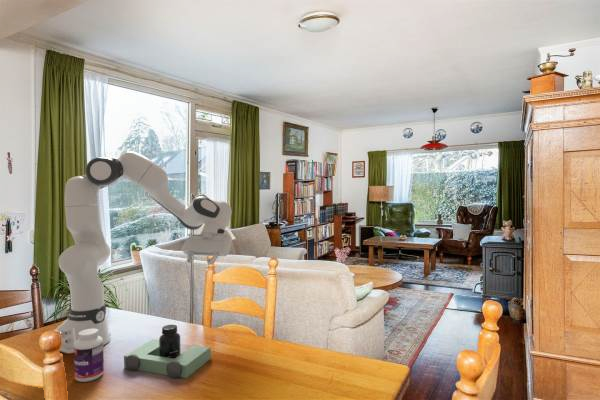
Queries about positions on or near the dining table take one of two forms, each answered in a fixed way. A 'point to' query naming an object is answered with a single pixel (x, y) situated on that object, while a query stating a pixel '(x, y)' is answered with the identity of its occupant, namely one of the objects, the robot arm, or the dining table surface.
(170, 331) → the supplement bottle
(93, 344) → the pill bottle
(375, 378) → the dining table surface
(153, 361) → the green u-shaped block
